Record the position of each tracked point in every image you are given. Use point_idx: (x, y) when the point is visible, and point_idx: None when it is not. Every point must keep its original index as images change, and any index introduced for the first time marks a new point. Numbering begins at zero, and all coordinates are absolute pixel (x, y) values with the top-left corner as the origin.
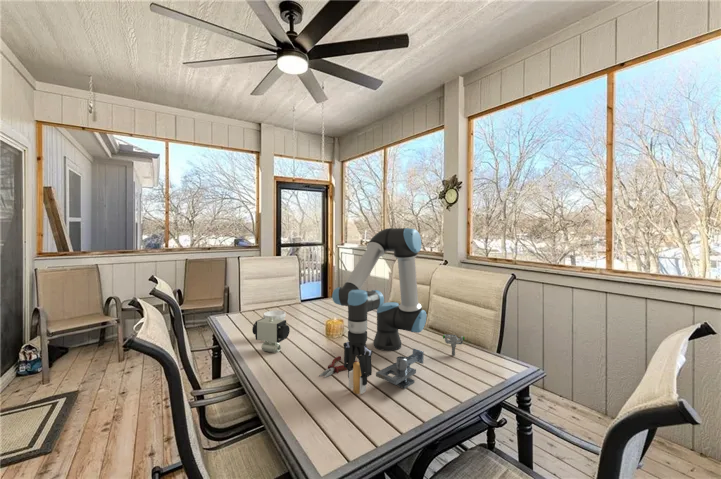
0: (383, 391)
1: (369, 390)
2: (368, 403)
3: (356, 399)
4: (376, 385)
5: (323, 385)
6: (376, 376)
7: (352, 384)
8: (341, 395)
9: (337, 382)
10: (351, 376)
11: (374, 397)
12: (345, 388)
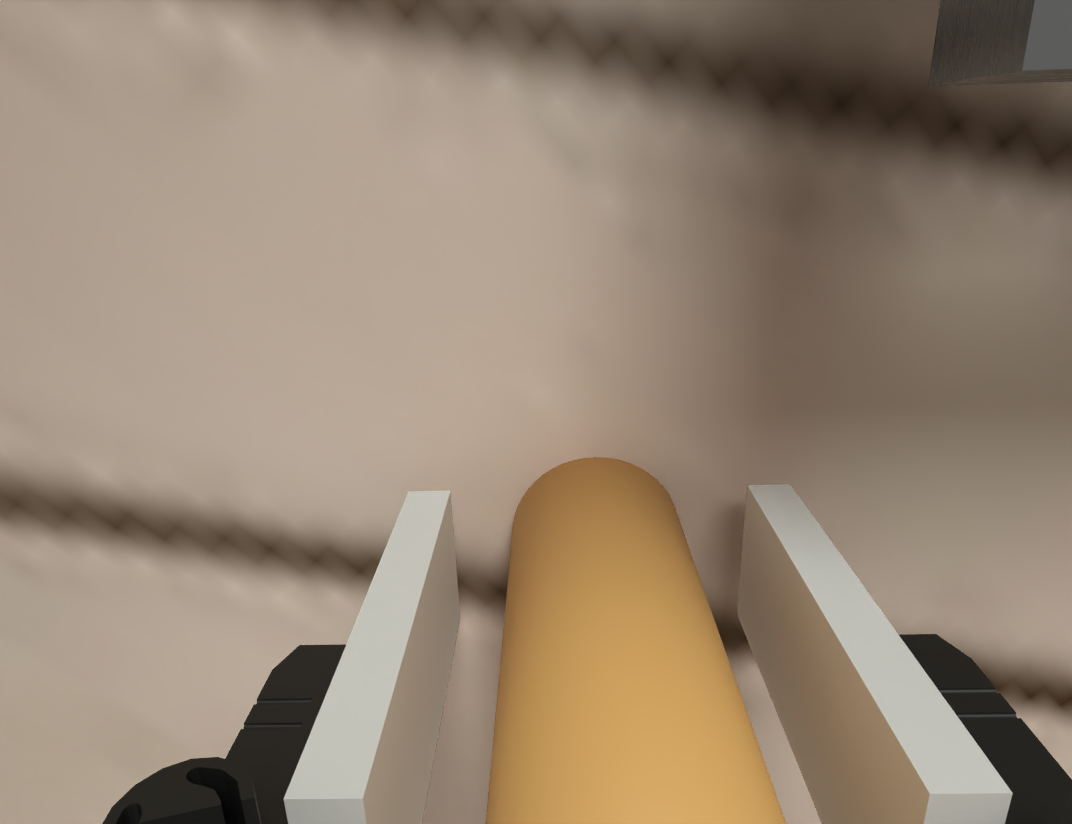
0: (1053, 118)
1: (755, 327)
2: (1017, 656)
3: (768, 703)
4: (738, 11)
5: (14, 779)
6: (960, 81)
7: (448, 595)
8: (489, 777)
9: (45, 562)
10: (416, 785)
11: (1006, 452)
12: (344, 602)
